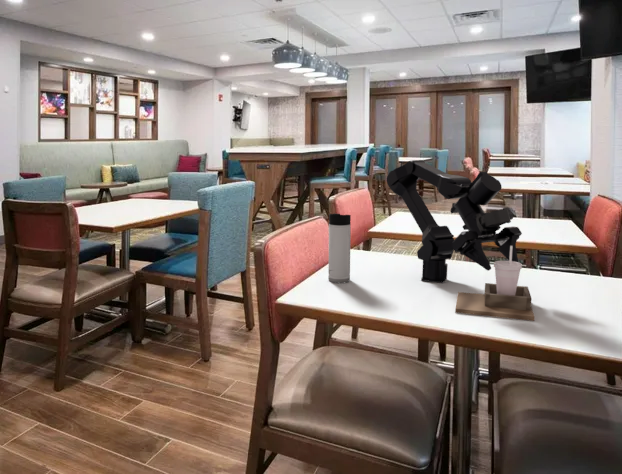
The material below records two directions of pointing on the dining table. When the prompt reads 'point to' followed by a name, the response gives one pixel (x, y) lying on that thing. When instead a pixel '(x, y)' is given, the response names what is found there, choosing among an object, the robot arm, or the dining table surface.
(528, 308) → the holder
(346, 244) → the travel mug
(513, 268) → the smoothie
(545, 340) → the dining table surface
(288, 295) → the dining table surface
